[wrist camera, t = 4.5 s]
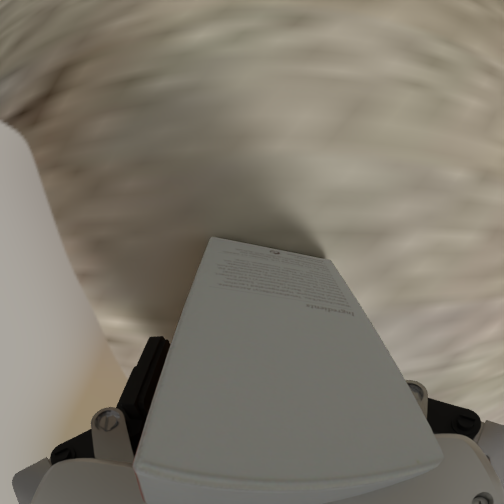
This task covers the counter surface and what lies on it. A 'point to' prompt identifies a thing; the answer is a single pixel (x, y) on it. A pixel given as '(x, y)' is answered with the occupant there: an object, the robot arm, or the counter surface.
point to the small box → (277, 391)
